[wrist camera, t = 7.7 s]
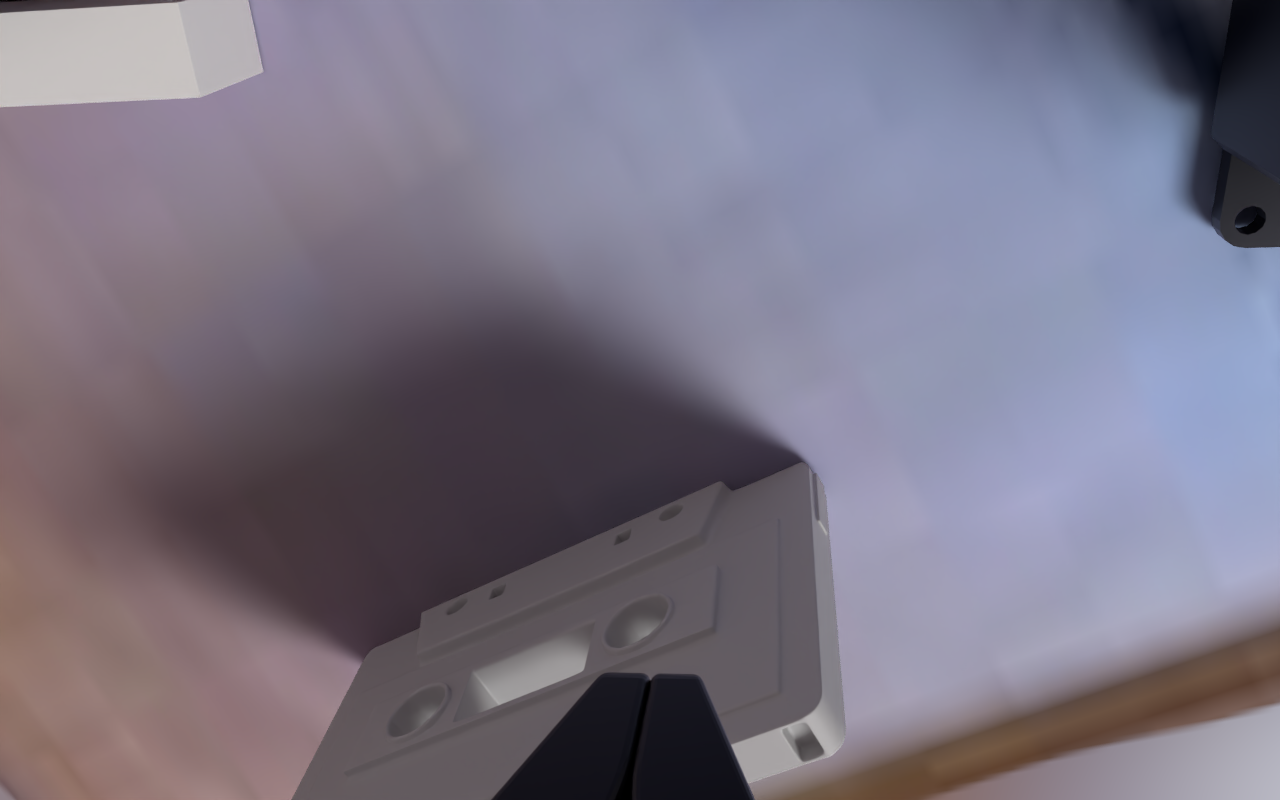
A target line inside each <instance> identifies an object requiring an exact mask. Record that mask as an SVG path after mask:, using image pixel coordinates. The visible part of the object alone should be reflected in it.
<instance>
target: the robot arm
mask: <svg viewBox="0 0 1280 800" xmlns="http://www.w3.org/2000/svg"><path fill="white" fill-rule="evenodd" d="M1211 135H1212V137H1213V139H1214V140H1215V141H1216V142H1217V143H1218V144H1219V145H1220V146H1221V147H1222V148H1223V152H1222V158H1221V164H1220V170H1219V175H1218V181H1217V187H1216V193H1215V199H1214V205H1213V210H1212V226H1213V227H1214V229H1215V231H1216V233H1217V234H1218V235H1219V236H1221V237H1222V238H1223V239H1224V240H1226V241H1227V242H1229V243H1230V244H1232V245H1233V246H1237V247H1243V248H1257V247H1280V0H1233V3H1232V9H1231V15H1230V21H1229V27H1228V33H1227V39H1226V45H1225V51H1224V57H1223V63H1222V69H1221V75H1220V82H1219V88H1218V94H1217V100H1216V106H1215V112H1214V118H1213V124H1212V130H1211ZM1251 206H1256V209H1257V214H1256V216H1255V219H1254V221H1252V222H1251V223H1250V224H1249V225H1247V226H1244V227H1241V228H1237V227H1235V219H1236V217H1237V215H1238V213H1239V212H1241V211H1242V210H1243V209H1244V208H1247V207H1251ZM491 800H755V799H754V796H753V794H752V792H751V789H750V787H749V785H748V783H747V780H746V778H745V776H744V773H743V771H742V769H741V766H740V764H739V762H738V760H737V757H736V755H735V753H734V750H733V748H732V746H731V743H730V741H729V739H728V737H727V734H726V732H725V730H724V727H723V725H722V723H721V720H720V718H719V716H718V714H717V711H716V709H715V707H714V704H713V702H712V700H711V698H710V695H709V693H708V691H707V688H706V686H705V684H704V682H703V680H702V679H701V677H699V676H698V675H696V674H669V673H659V674H656V675H655V676H654V677H653V678H652V679H651V680H650V678H649V677H648V675H646V674H644V673H622V672H607V673H603V674H602V675H600V676H599V677H598V678H597V679H596V680H595V681H594V682H593V683H592V684H591V685H590V687H589V688H588V689H587V690H586V691H585V692H584V694H583V695H582V696H581V697H580V698H579V699H578V700H577V702H576V703H575V704H574V705H573V706H572V707H571V708H570V710H569V711H568V712H567V713H566V714H565V715H564V716H563V718H562V719H561V720H560V721H559V722H558V723H557V725H556V726H555V727H554V728H553V729H552V730H551V731H550V733H549V734H548V735H547V736H546V737H545V738H544V739H543V741H542V742H541V743H540V744H539V745H538V746H537V748H536V749H535V750H534V751H533V752H532V753H531V754H530V756H529V757H528V758H527V759H526V760H525V761H524V762H523V764H522V765H521V766H520V767H519V768H518V769H517V770H516V772H515V773H514V774H513V775H512V776H511V777H510V779H509V780H508V781H507V782H506V783H505V784H504V785H503V787H502V788H501V789H500V790H499V791H498V792H497V793H496V795H495V796H494V797H493V798H492V799H491Z"/></svg>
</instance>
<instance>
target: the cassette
mask: <svg viewBox="0 0 1280 800" xmlns="http://www.w3.org/2000/svg"><path fill="white" fill-rule="evenodd" d="M607 672H622V673H644V674H646V675H648V677H649V678H650V680H651V679H652V678H653V677H654V676H655V675H656V674H659V673H669V674H696V675H698V676H699V677H701V679H702V680H703V682H704V684H705V686H706V688H707V691H708V693H709V695H710V698H711V700H712V702H713V704H714V707H715V709H716V711H717V714H718V716H719V718H720V720H721V723H722V725H723V727H724V730H725V732H726V734H727V737H728V739H729V741H730V743H731V746H732V748H733V750H734V753H735V755H736V757H737V760H738V762H739V764H740V766H741V769H742V771H743V773H744V776H745V778H746V780H747V783H748V784H749V783H752V782H755V781H757V780H760V779H763V778H766V777H769V776H772V775H775V774H778V773H781V772H784V771H787V770H790V769H793V768H796V767H799V766H802V765H805V764H808V763H811V762H814V761H817V760H820V759H823V758H827V757H830V756H832V755H833V754H834V753H835V752H836V751H837V750H838V749H839V748H840V747H841V746H842V744H843V742H844V739H845V732H846V725H845V713H844V701H843V690H842V678H841V666H840V654H839V642H838V630H837V619H836V607H835V595H834V583H833V571H832V559H831V548H830V536H829V524H828V512H827V500H826V495H825V492H824V485H823V484H822V482H821V480H820V478H819V477H818V475H817V474H816V473H815V474H814V473H813V472H812V471H811V469H810V467H809V466H808V465H807V464H806V463H803V462H800V463H798V464H796V465H793V466H791V467H789V468H786V469H784V470H782V471H779V472H777V473H775V474H773V475H770V476H768V477H766V478H763V479H761V480H759V481H756V482H754V483H752V484H749V485H747V486H744V487H742V488H739V489H737V490H730V489H729V488H728V487H727V486H726V485H725V484H724V483H723V482H721V481H719V482H717V483H714V484H712V485H710V486H708V487H705V488H703V489H701V490H699V491H696V492H694V493H692V494H689V495H687V496H685V497H683V498H680V499H678V500H676V501H674V502H671V503H669V504H667V505H664V506H662V507H660V508H658V509H655V510H653V511H651V512H649V513H646V514H644V515H642V516H640V517H637V518H635V519H633V520H630V521H628V522H626V523H624V524H621V525H619V526H617V527H615V528H612V529H610V530H608V531H606V532H603V533H601V534H599V535H596V536H594V537H592V538H590V539H587V540H585V541H583V542H581V543H578V544H576V545H574V546H572V547H569V548H567V549H565V550H562V551H560V552H558V553H556V554H553V555H551V556H549V557H547V558H544V559H542V560H540V561H537V562H535V563H533V564H531V565H528V566H526V567H524V568H522V569H519V570H517V571H515V572H513V573H510V574H508V575H506V576H503V577H501V578H499V579H497V580H494V581H492V582H490V583H488V584H485V585H483V586H481V587H478V588H476V589H474V590H472V591H469V592H467V593H465V594H463V595H460V596H458V597H456V598H453V599H451V600H449V601H447V602H444V603H442V604H440V605H438V606H435V607H433V608H431V609H429V610H426V611H424V612H422V613H421V623H420V628H418V629H416V630H414V631H412V632H410V633H407V634H405V635H403V636H401V637H398V638H396V639H394V640H391V641H389V642H387V643H384V644H382V645H380V646H378V647H375V648H373V649H372V650H371V651H370V652H369V653H368V654H367V656H366V657H365V659H364V661H363V662H362V664H361V666H360V668H359V670H358V672H357V674H356V676H355V678H354V680H353V682H352V684H351V686H350V688H349V690H348V691H347V693H346V695H345V697H344V699H343V701H342V703H341V705H340V707H339V709H338V711H337V713H336V715H335V717H334V719H333V720H332V722H331V724H330V726H329V728H328V730H327V732H326V734H325V736H324V738H323V740H322V742H321V744H320V746H319V748H318V749H317V751H316V753H315V755H314V757H313V759H312V761H311V763H310V765H309V767H308V769H307V771H306V773H305V775H304V777H303V779H302V780H301V782H300V784H299V786H298V788H297V790H296V792H295V794H294V796H293V798H292V800H491V799H492V798H493V797H494V796H495V795H496V793H497V792H498V791H499V790H500V789H501V788H502V787H503V785H504V784H505V783H506V782H507V781H508V780H509V779H510V777H511V776H512V775H513V774H514V773H515V772H516V770H517V769H518V768H519V767H520V766H521V765H522V764H523V762H524V761H525V760H526V759H527V758H528V757H529V756H530V754H531V753H532V752H533V751H534V750H535V749H536V748H537V746H538V745H539V744H540V743H541V742H542V741H543V739H544V738H545V737H546V736H547V735H548V734H549V733H550V731H551V730H552V729H553V728H554V727H555V726H556V725H557V723H558V722H559V721H560V720H561V719H562V718H563V716H564V715H565V714H566V713H567V712H568V711H569V710H570V708H571V707H572V706H573V705H574V704H575V703H576V702H577V700H578V699H579V698H580V697H581V696H582V695H583V694H584V692H585V691H586V690H587V689H588V688H589V687H590V685H591V684H592V683H593V682H594V681H595V680H596V679H597V678H598V677H599V676H600V675H602V674H603V673H607Z"/></svg>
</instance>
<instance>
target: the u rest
mask: <svg viewBox="0 0 1280 800" xmlns="http://www.w3.org/2000/svg"><path fill="white" fill-rule="evenodd" d="M260 73H263V68H262V63H261V58H260V54H259V49H258V44H257V39H256V35H255V30H254V25H253V20H252V16H251V11H250V6H249V1H248V0H27V1H11V2H0V107H14V106H34V105H55V104H76V103H97V102H118V101H138V100H159V99H180V98H200V97H203V96H205V95H208V94H210V93H213V92H215V91H218V90H220V89H223V88H225V87H228V86H230V85H233V84H235V83H238V82H240V81H243V80H245V79H248V78H250V77H253V76H255V75H258V74H260Z"/></svg>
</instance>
